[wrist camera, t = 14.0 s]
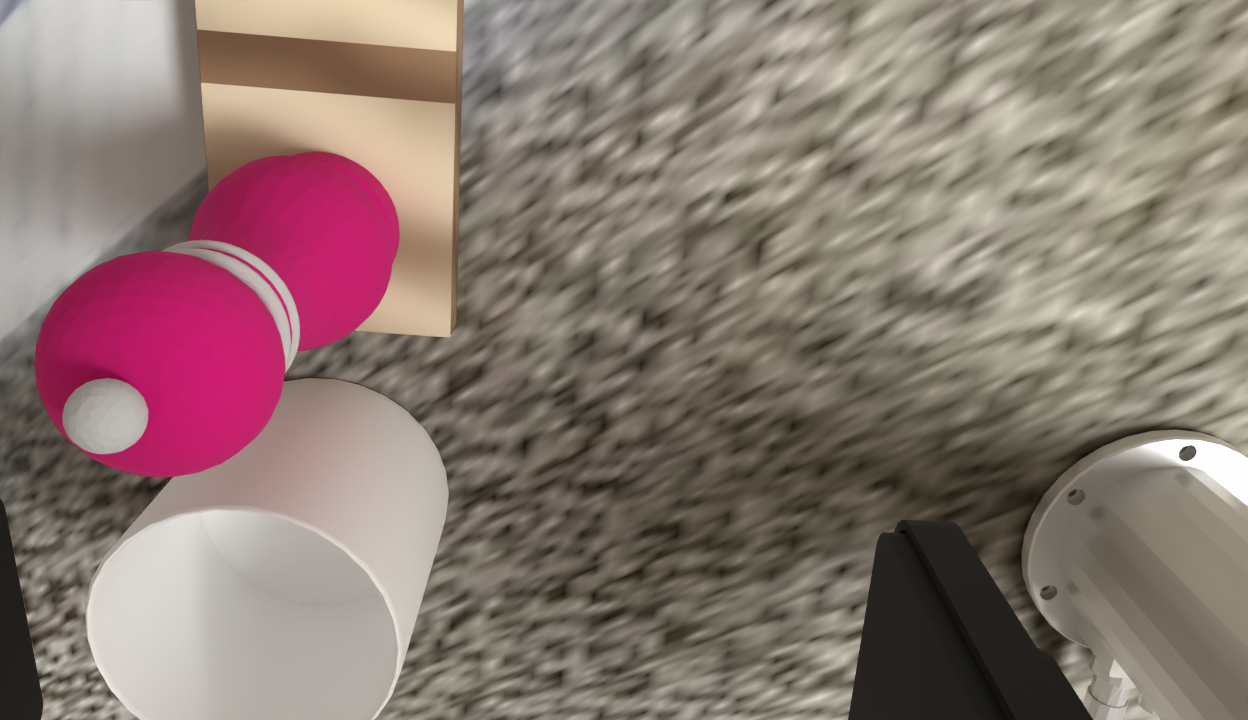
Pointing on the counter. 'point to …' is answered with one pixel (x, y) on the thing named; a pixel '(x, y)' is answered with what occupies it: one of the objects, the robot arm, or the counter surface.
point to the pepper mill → (216, 315)
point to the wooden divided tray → (350, 118)
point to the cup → (277, 569)
